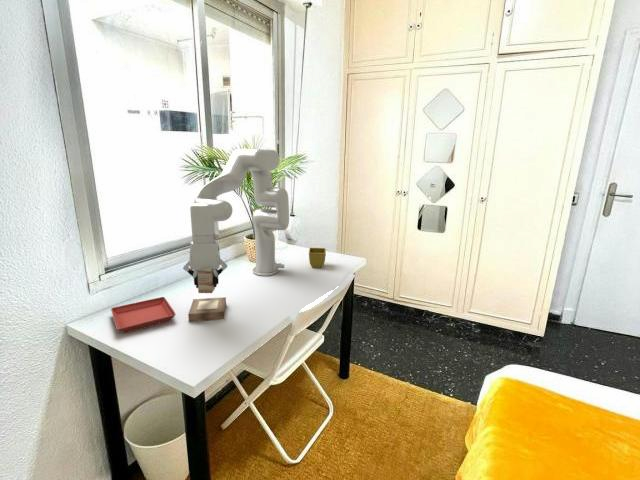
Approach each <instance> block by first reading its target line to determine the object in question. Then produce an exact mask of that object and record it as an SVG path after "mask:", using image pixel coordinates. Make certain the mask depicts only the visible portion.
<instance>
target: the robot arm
mask: <svg viewBox="0 0 640 480" xmlns="http://www.w3.org/2000/svg"><path fill="white" fill-rule="evenodd" d="M280 158H281V157H280V155H279V152H278V151H276V150H275V149H264V148H263V149H262V148H238V149H237V148H236V149H235V150H233V152H232V153H231V155H230V157H229V159H228V160H227V162H226V164H225V166H224V168H223V170H222V171H221V173H220V175H218V176H217V177H215V178H213V179H211V181H208V183H206V184H204V185H203V187H201V188H200V190H199V191H198V193H197V195H196V197H195V199H194V201H193V203H192V204H191V205H190V208H189V210H190V222H191V238H192V241H190V245H189V260H188V261H187V262H186V263H185V264H184V266H183V267H182V269H183V270H184V271H185V272H187V274H189V275H190V276H192V278H193V284H194V286H195V288H196V289H198V275H197V270H200V269H201V268H202V267H211V269H212V270H213V273H214V287H215V288H217V285H219V276H220V275H221V274H222V273H223V272H224V271H225V270H226V269H227V268H228V264H227V263H226V262H225V261H224V260H223V259H221V253H220V246H219V242H218V239H219V240H220V234H216V233H215V232H216V230H215V223H217V222H225V221H227V220H229V219H230V218H231V217H232V215H233V210H234V209H233V206H232V205H231V203H230V202H229V201H226V200H222V199H215V198H217V197H219V196H220V195H223V194H226V193H230V192H232V191H235V190H238V189H240V188H241V186H242V184H243V182H244V180H245V178H246V176H247V174H248V173H249V172H250V174H251V177H252V183H253V186H252V187H253V198H254V202H255V204H256V205H257V206H259V207H265V208H258V209H255V210H254V211H253V213H252V216H251V217H252V225H253V229H254V244H255V245H254V249H255V251H254V252H255V255H254V256H255V267H253V269H252V273H253V274H254V275H257V276H263V277H268V276H269V277H270V276H273V275H276V274H277V273H278V272H279V269H285V263H284V264H283V263H281V262H279V263H277V262H276V249H275V248H276V237H275V234H274V232H273V230H275V231H285V230H287V229H288V227H289V225H290V204H289V203H290V201H289V194H288V191H287V189H285V188H284V187H281V186H274V185H273V180H272V174H271V173H272V172H270V171H275V170H276V169H277V168H278V167H279V166H280V162H281V161H280ZM272 208H275V209H272ZM220 266H221V267H220Z"/></svg>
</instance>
